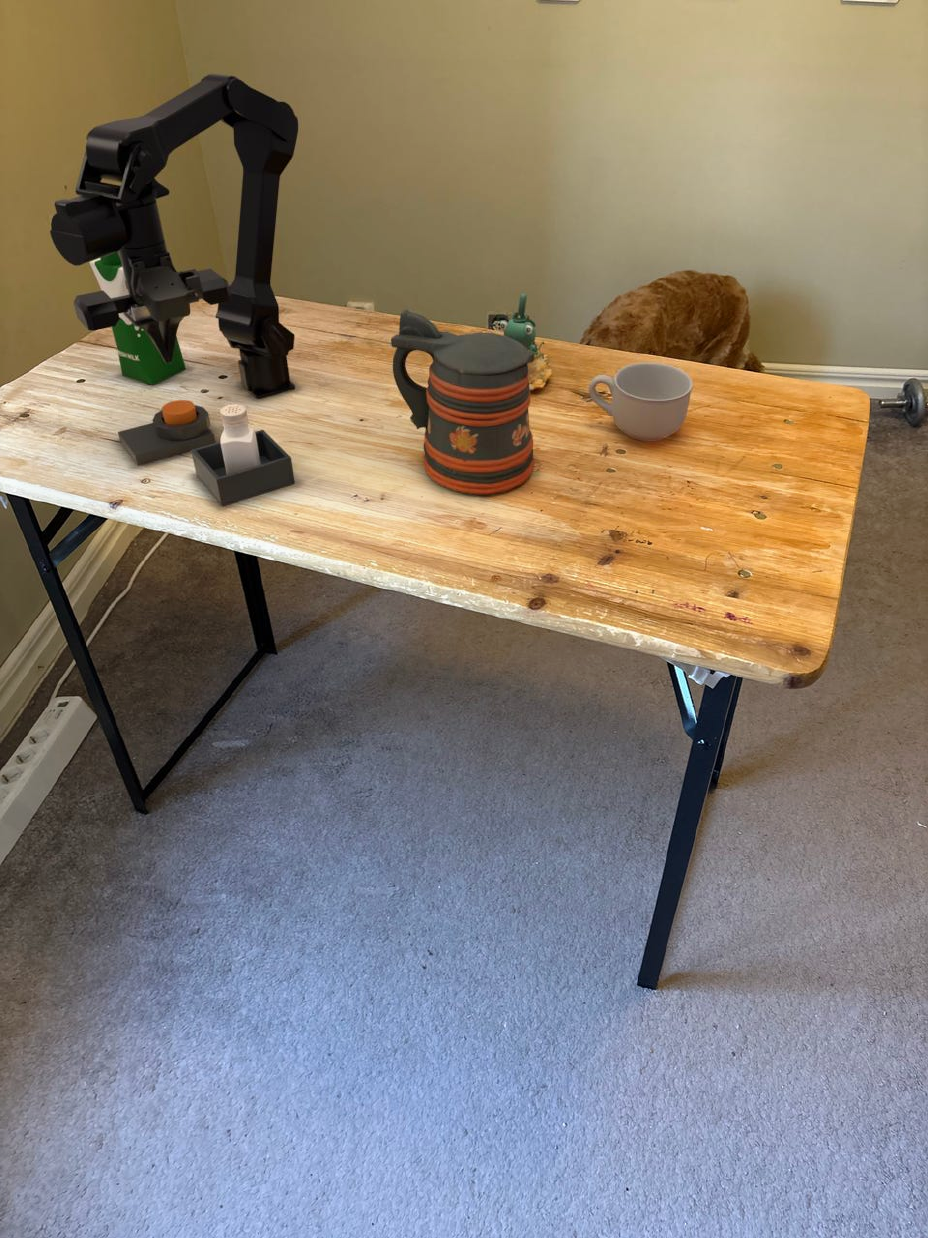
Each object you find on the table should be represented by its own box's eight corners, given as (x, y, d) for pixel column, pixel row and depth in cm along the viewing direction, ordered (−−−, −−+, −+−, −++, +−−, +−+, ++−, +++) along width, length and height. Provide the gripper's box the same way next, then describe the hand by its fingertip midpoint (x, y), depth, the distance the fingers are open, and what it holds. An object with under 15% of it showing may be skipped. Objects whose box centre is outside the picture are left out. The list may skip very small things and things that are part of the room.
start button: (190, 408, 128) (188, 396, 127) (201, 420, 125) (199, 408, 124) (160, 416, 126) (157, 404, 125) (170, 428, 123) (167, 417, 122)
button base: (200, 421, 132) (195, 398, 130) (220, 443, 127) (215, 420, 124) (120, 442, 127) (114, 419, 125) (138, 466, 122) (131, 443, 120)
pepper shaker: (227, 484, 117) (214, 417, 111) (231, 469, 120) (219, 402, 114) (259, 483, 117) (247, 416, 111) (262, 467, 120) (251, 401, 114)
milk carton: (113, 376, 144) (78, 246, 131) (156, 356, 150) (127, 230, 137) (152, 389, 140) (120, 256, 127) (195, 368, 146) (168, 239, 133)
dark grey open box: (267, 455, 124) (262, 429, 121) (295, 484, 118) (291, 457, 115) (196, 476, 120) (190, 449, 117) (222, 507, 114) (216, 479, 111)
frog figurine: (577, 367, 145) (580, 277, 135) (516, 421, 135) (514, 329, 125) (527, 352, 149) (526, 264, 139) (464, 404, 139) (457, 313, 129)
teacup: (693, 422, 130) (702, 369, 125) (673, 456, 123) (682, 401, 118) (600, 404, 135) (605, 352, 130) (576, 436, 127) (580, 383, 122)
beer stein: (377, 483, 118) (365, 334, 105) (412, 431, 129) (406, 290, 116) (519, 504, 114) (524, 351, 101) (543, 448, 125) (551, 304, 112)
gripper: (82, 274, 103) (117, 402, 113) (237, 244, 111) (257, 366, 120) (57, 248, 110) (91, 370, 120) (204, 222, 118) (225, 338, 128)
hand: (168, 361), depth 122 cm, fingers closed
